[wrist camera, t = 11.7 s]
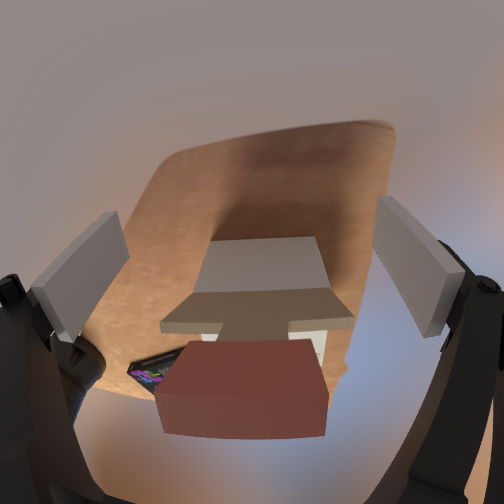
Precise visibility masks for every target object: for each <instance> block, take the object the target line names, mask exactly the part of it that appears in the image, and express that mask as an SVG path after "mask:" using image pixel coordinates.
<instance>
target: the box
mask: <svg viewBox="0 0 504 504" xmlns="http://www.w3.org/2000/svg"><path fill="white" fill-rule="evenodd" d="M183 350H184V348H182V349H179V350H175V351H172V352H169V353H166V354H163V355H160V356H157V357H153V358H150V359H147V360H143V361H140V362H137V363H133V364H130V366H129V368H128V371H127V374H128V375H130V376H131V377H132V378H134V379H135V380H136V381H137V382H138V383H140V384H141V385H142V386H143V387H144V388H146V389H147V390H148V391H149V392H151V393H152V394H153V395H154V391H155V389H156V388H157V387H158V385H159V384H160V382H161V381H162V379H163V378H164V377H165V375H166V374H167V372H168V371H169V369H170V368H171V367H172V365H173V364H174V362H175V361H176V359H177V358H178V357H179V355H180V354H181V352H182V351H183Z"/></svg>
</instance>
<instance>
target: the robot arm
mask: <svg viewBox="0 0 504 504" xmlns="http://www.w3.org/2000/svg"><path fill="white" fill-rule="evenodd" d="M372 247H373V248H374V250H375V252H376V253H377V255H378V257H379V258H380V260H381V261H382V263H383V265H384V266H385V268H386V270H387V271H388V273H389V275H390V277H391V278H392V280H393V282H394V284H395V285H396V287H397V289H398V291H399V292H400V294H401V296H402V298H403V300H404V301H405V303H406V305H407V307H408V309H409V311H410V313H411V315H412V317H413V318H414V320H415V322H416V324H417V326H418V328H419V330H420V332H421V334H422V336H423V338H428V337H433V336H438V335H441V332H442V330H443V328H444V325H445V324H446V323H447V325H448V327H449V328H450V332H449V334H448V336H447V338H446V340H445V342H444V344H443V346H442V348H441V350H440V352H442V354H441V357H440V360H439V363H438V366H437V368H436V371H435V374H434V377H433V379H432V382H431V384H430V387H429V389H428V392H427V394H426V396H425V399H424V401H423V403H422V405H421V408H420V410H419V412H418V414H417V416H416V418H415V421H414V423H413V425H412V427H411V429H410V431H409V433H408V434H407V436H406V438H405V440H404V442H403V444H402V446H401V447H400V450H399V451H398V453H397V455H396V456H395V458H394V460H393V461H392V463H391V465H390V467H389V468H388V470H387V471H386V473H385V474H384V476H383V478H382V479H381V481H380V482H379V484H378V485H377V487H376V488H375V490H374V491H373V492H372V494H371V495H370V497H369V498H368V499H367V500H366V502H365V503H364V504H468V499H467V497H466V496H465V495H464V489H465V486H466V483H467V481H468V479H469V476H470V474H471V471H472V468H473V466H474V463H475V460H476V457H477V454H478V451H479V448H480V445H481V442H482V438H483V435H484V432H485V428H486V424H487V420H488V416H489V412H490V408H491V403H492V399H493V438H492V439H493V440H492V451H491V461H490V469H489V476H488V482H487V488H486V494H485V498H484V503H483V504H504V292H503V291H502V290H501V287H500V286H499V285H498V283H496V282H495V281H494V280H492V279H491V278H488V277H486V276H482V275H479V276H476V275H475V274H474V273H473V272H472V271H471V270H470V269H469V267H468V266H467V265H466V264H465V263H464V262H463V261H462V260H460V258H459V256H458V255H457V254H455V252H454V251H453V250H452V249H451V248H450V247H449V246H448V245H446V244H445V243H443V242H441V241H440V240H436V239H435V238H434V236H433V235H432V234H431V233H430V232H429V231H428V230H427V229H426V228H425V227H424V226H423V225H422V224H421V223H420V222H419V221H418V220H417V219H416V218H415V217H414V216H412V215H411V214H410V213H409V212H408V211H407V210H406V209H405V208H404V207H403V206H402V205H401V204H400V203H399V202H398V201H396V200H395V199H394V198H393V197H392V196H378V198H377V208H376V218H375V226H374V234H373V242H372ZM129 257H130V256H129V253H128V250H127V246H126V243H125V240H124V236H123V233H122V229H121V226H120V222H119V218H118V214H117V211H114V212H106V213H104V214H103V215H102V216H101V217H100V218H98V219H97V220H96V221H95V222H94V223H93V224H92V225H91V226H90V227H89V228H87V229H86V230H85V231H84V232H83V233H82V234H81V235H80V236H79V237H78V238H77V239H76V240H75V241H74V242H73V243H71V244H70V246H68V248H67V249H66V250H64V251H63V252H62V253H61V254H60V256H58V257H57V258H56V260H55V261H54V262H53V263H52V264H51V265H50V266H49V267H48V268H47V269H46V270H45V271H44V272H43V273H42V274H41V275H40V276H39V277H38V278H37V280H36V281H35V282H34V283H33V284H32V285H31V286H30V287H31V288H30V290H29V291H28V292H27V293H26V292H25V290H24V288H23V286H22V284H21V282H20V279H19V277H18V275H17V274H10V275H8V276H6V277H4V278H2V279H1V280H0V303H1V305H2V307H1V308H0V504H135V503H131V502H128V501H124V500H121V499H118V498H115V497H112V496H109V495H106V494H105V493H104V492H103V490H102V489H101V488H100V487H99V486H98V485H97V484H96V483H95V481H94V480H93V478H92V476H91V474H90V472H89V469H88V467H87V465H86V462H85V459H84V457H83V454H82V452H81V449H80V446H79V443H78V440H77V437H76V434H75V431H74V428H73V424H74V422H75V419H76V417H77V414H78V412H79V409H80V407H81V404H82V402H83V400H84V397H85V395H86V393H87V391H88V390H89V389H90V388H91V387H92V386H93V384H94V383H95V382H96V381H97V380H99V379H100V378H101V377H102V375H103V373H104V371H105V368H106V364H105V361H104V359H103V357H102V356H101V354H100V353H99V352H98V351H97V350H96V349H95V348H94V347H93V346H92V345H91V344H90V343H89V342H87V341H86V340H85V339H83V338H81V337H80V336H78V334H79V333H80V331H81V329H82V328H83V326H84V324H85V323H86V321H87V319H88V318H89V316H90V315H91V313H92V312H93V310H94V308H95V307H96V305H97V304H98V302H99V301H100V299H101V298H102V296H103V295H104V293H105V292H106V290H107V289H108V287H109V286H110V284H111V283H112V281H113V280H114V278H115V277H116V275H117V274H118V272H119V271H120V270H121V268H122V267H123V265H124V264H125V263H126V261H127V260H128V258H129ZM53 331H55V332H54V333H53V335H52V336H50V335H51V334H52V332H53Z"/></svg>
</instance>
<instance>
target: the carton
mask: <svg viewBox="0 0 504 504" xmlns="http://www.w3.org/2000/svg"><path fill="white" fill-rule="evenodd" d="M326 287H329V288H330V289H331V287H330V283H329V280H328V277H327V273H326V270H325V267H324V264H323V260H322V257H321V254H320V251H319V248H318V245H317V242H316V239H315V236H309V237H285V238H263V239H242V240H222V241H210V243H209V246H208V249H207V252H206V255H205V258H204V260H203V263H202V266H201V269H200V272H199V275H198V278H197V281H196V284H195V287H194V290H193V292H236V291H265V290H289V289H308V288H326ZM218 335H219V334H201V336H202V340H203V341H216V339H217V337H218ZM288 335H289V340H292V339H309V338H311V340H312V343H313V346H314V349H315V352H316V355H317V358H318V361H319V364H320V366H322V362H323V356H324V349H325V343H326V336H327V330H322V331H308V332H290V333H288Z"/></svg>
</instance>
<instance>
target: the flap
mask: <svg viewBox="0 0 504 504" xmlns="http://www.w3.org/2000/svg"><path fill="white" fill-rule="evenodd" d="M354 317H355V316H354V315H353V314H352V313H351V312H350V311H349V310H348V308H347V307H346V306H345V305H344V304H343V303H342V302H341V300H340V299H339V298H338V297H337V296H336V295H335V294H334V293H333V291H332V290H331V289H330V288H329V287H326V288H308V289H289V290H265V291H236V292H193V293H192V294H191V295H190V296H189V297H188V298H186V299H185V300H184V301H183V302H182V303H181V304H180V305H178V306H177V307H176V308H175V309H174V310H173V311H172V312H171V313H169V314H168V315H167V316H166V317H165V318H164V319H163V320H161V321H160V328H161V333H176V334H219V335H218V337H217V339H216V341H189V342H188V344H187V345H186V347H185V348H184V350H183V351H182V352H181V354H180V355H179V357H178V358H177V359H176V361H175V362H174V364H173V365H172V367H171V368H170V369H169V371H168V372H167V374H166V375H165V377H164V378H163V379H162V381H161V382H160V384H159V385H158V387H157V388H156V389H155V391H154V396H155V400H156V404H157V408H158V411H159V416H160V419H161V423H162V426H163V430H164V433H169V434H177V435H186V436H195V437H206V438H221V439H292V438H305V437H306V438H307V437H318V436H325V429H326V420H327V410H328V400H329V392H328V389H327V386H326V383H325V380H324V377H323V373H322V370H321V367H320V364H319V361H318V358H317V355H316V352H315V349H314V346H313V343H312V340H311V338H309V339H292V340H289V335H288V333H290V332H308V331H322V330H335V329H346V328H354Z"/></svg>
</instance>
